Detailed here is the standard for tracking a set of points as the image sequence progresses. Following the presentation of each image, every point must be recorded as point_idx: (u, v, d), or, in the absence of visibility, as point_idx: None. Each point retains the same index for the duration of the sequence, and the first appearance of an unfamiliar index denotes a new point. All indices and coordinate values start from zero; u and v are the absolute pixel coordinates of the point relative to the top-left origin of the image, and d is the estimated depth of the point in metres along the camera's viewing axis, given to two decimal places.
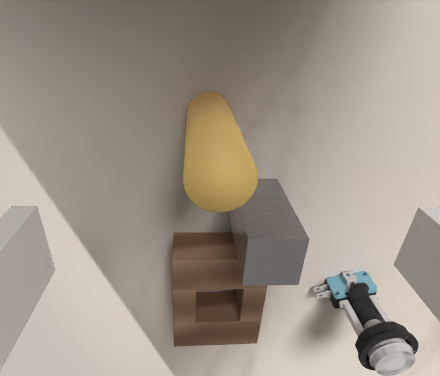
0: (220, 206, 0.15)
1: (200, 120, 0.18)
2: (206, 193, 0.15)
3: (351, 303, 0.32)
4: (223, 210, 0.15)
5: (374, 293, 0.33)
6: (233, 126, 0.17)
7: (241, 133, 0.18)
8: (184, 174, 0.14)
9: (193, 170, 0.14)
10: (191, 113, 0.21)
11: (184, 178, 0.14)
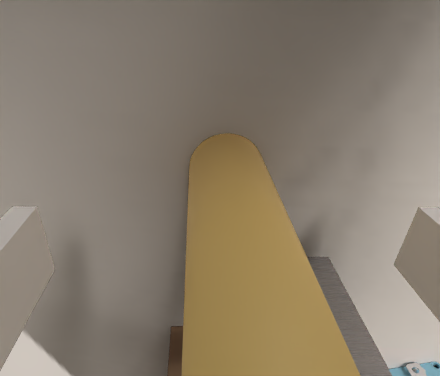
0: None
1: (219, 241, 0.08)
2: None
3: None
4: None
5: None
6: (299, 266, 0.07)
7: (310, 265, 0.08)
8: None
9: None
10: (197, 192, 0.11)
11: None
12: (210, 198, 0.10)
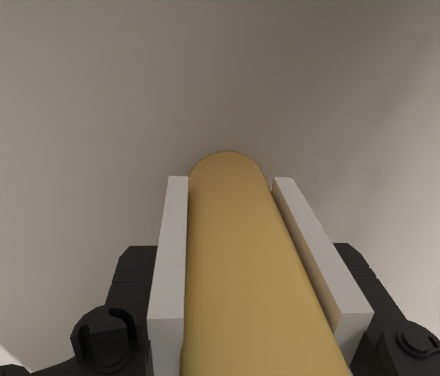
0: None
1: (220, 285, 0.07)
2: None
3: None
4: None
5: None
6: (312, 318, 0.06)
7: None
8: None
9: None
10: (195, 219, 0.10)
11: None
12: (209, 229, 0.09)
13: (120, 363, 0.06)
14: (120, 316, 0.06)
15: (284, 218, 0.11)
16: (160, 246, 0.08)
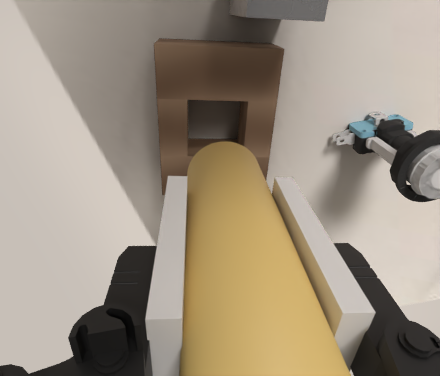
0: None
1: (216, 249, 0.08)
2: None
3: (382, 138, 0.26)
4: None
5: (409, 131, 0.27)
6: (295, 275, 0.07)
7: None
8: None
9: None
10: (195, 200, 0.11)
11: None
12: (207, 206, 0.10)
13: (118, 363, 0.06)
14: (118, 316, 0.06)
15: (285, 218, 0.11)
16: (159, 246, 0.08)
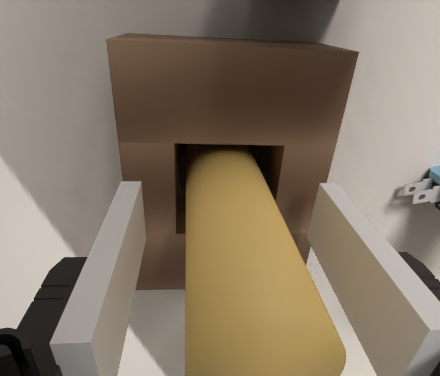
0: None
1: (213, 203, 0.10)
2: None
3: None
4: None
5: None
6: (275, 219, 0.09)
7: (285, 223, 0.10)
8: (188, 370, 0.07)
9: (208, 364, 0.06)
10: (194, 172, 0.13)
11: None
12: (205, 175, 0.12)
13: None
14: (8, 342, 0.05)
15: (336, 225, 0.11)
16: (89, 259, 0.08)
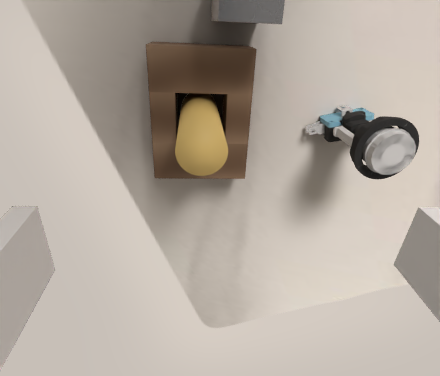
0: (202, 171, 0.22)
1: (189, 111, 0.24)
2: (192, 161, 0.21)
3: (346, 126, 0.30)
4: (204, 174, 0.22)
5: (371, 121, 0.31)
6: (213, 115, 0.23)
7: (220, 121, 0.24)
8: (176, 147, 0.21)
9: (182, 144, 0.20)
10: (183, 107, 0.27)
11: (176, 150, 0.21)
12: (187, 105, 0.26)
13: None
14: None
15: None
16: None
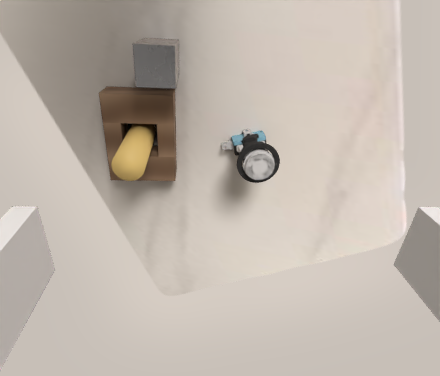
0: (130, 178, 0.35)
1: (126, 138, 0.37)
2: (122, 172, 0.34)
3: (243, 145, 0.43)
4: (131, 180, 0.35)
5: (264, 141, 0.44)
6: (140, 141, 0.36)
7: (147, 144, 0.37)
8: (112, 163, 0.34)
9: (115, 162, 0.33)
10: None
11: (112, 165, 0.34)
12: (128, 132, 0.39)
13: None
14: None
15: None
16: None
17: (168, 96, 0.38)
